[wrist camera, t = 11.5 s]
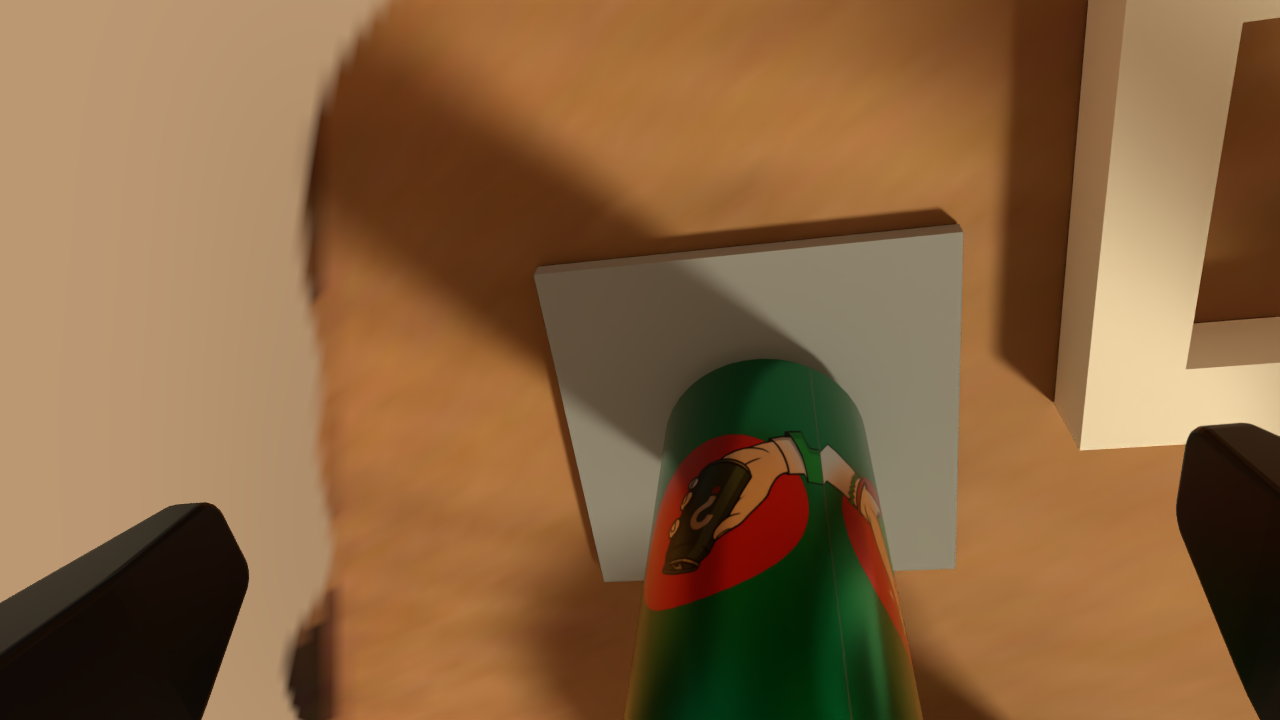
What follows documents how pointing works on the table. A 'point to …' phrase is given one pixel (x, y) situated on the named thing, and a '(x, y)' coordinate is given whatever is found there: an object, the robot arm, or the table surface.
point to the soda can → (769, 560)
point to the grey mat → (765, 329)
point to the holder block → (1155, 233)
